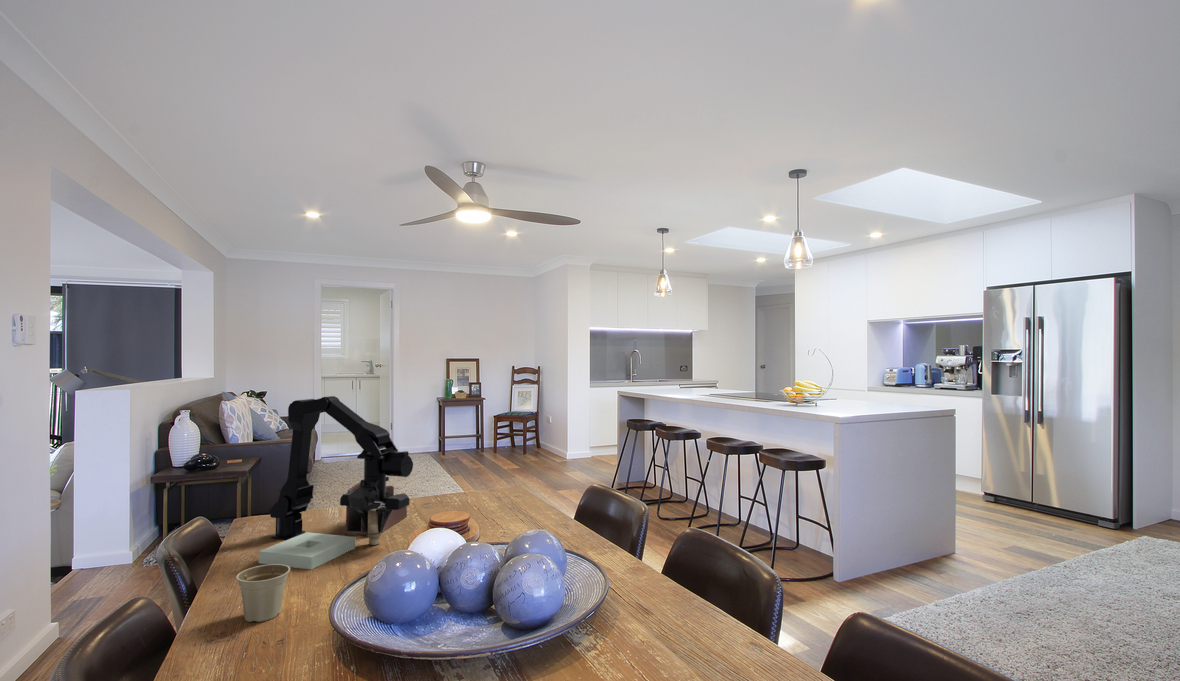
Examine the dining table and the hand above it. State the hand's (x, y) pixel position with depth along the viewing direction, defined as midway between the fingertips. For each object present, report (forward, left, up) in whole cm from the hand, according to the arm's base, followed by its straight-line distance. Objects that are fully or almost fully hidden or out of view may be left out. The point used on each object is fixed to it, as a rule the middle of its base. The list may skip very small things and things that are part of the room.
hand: (374, 531), depth 156 cm
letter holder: (-10, +16, -4) cm, 19 cm away
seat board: (-11, -12, -4) cm, 17 cm away
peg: (0, 0, -3) cm, 3 cm away
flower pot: (+6, -43, -4) cm, 44 cm away
